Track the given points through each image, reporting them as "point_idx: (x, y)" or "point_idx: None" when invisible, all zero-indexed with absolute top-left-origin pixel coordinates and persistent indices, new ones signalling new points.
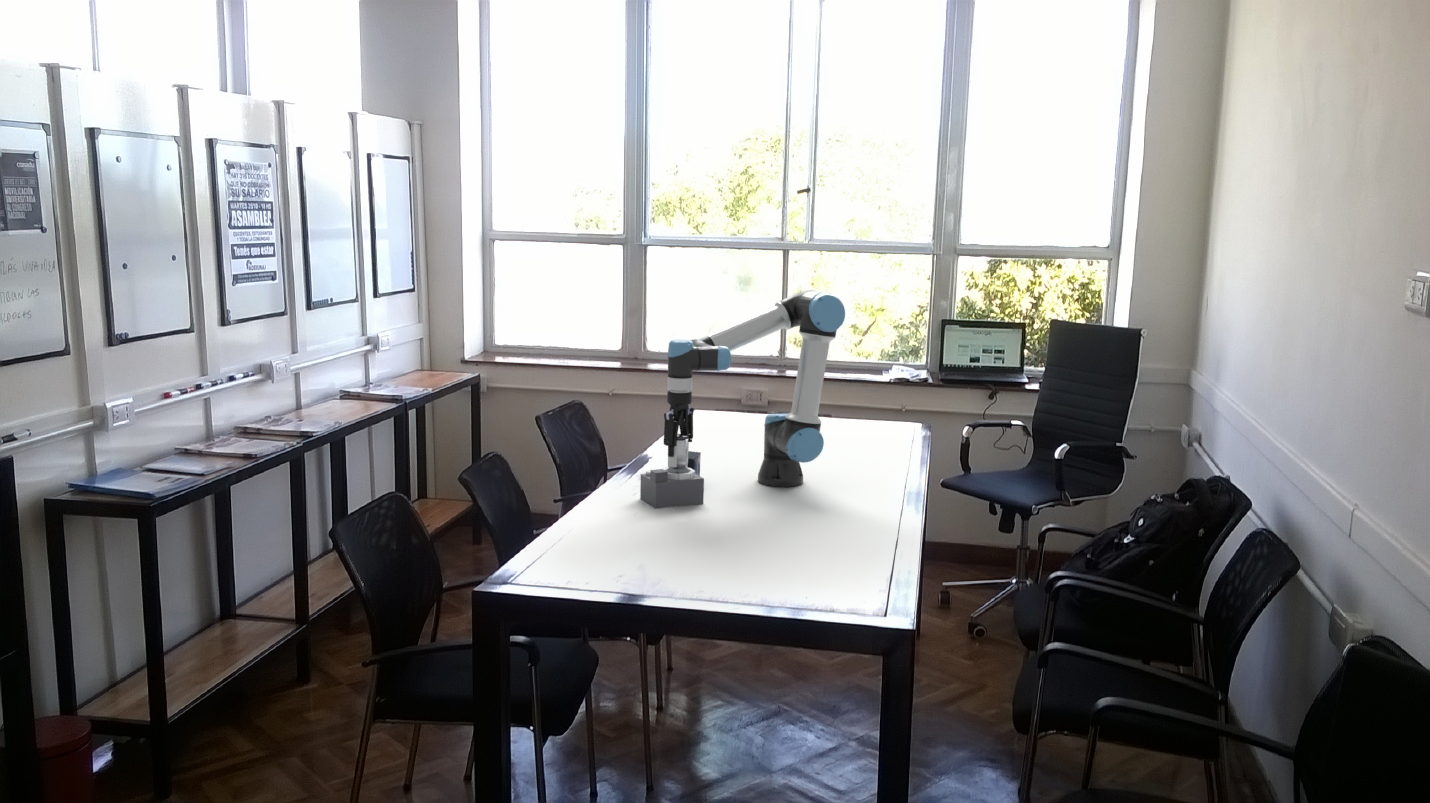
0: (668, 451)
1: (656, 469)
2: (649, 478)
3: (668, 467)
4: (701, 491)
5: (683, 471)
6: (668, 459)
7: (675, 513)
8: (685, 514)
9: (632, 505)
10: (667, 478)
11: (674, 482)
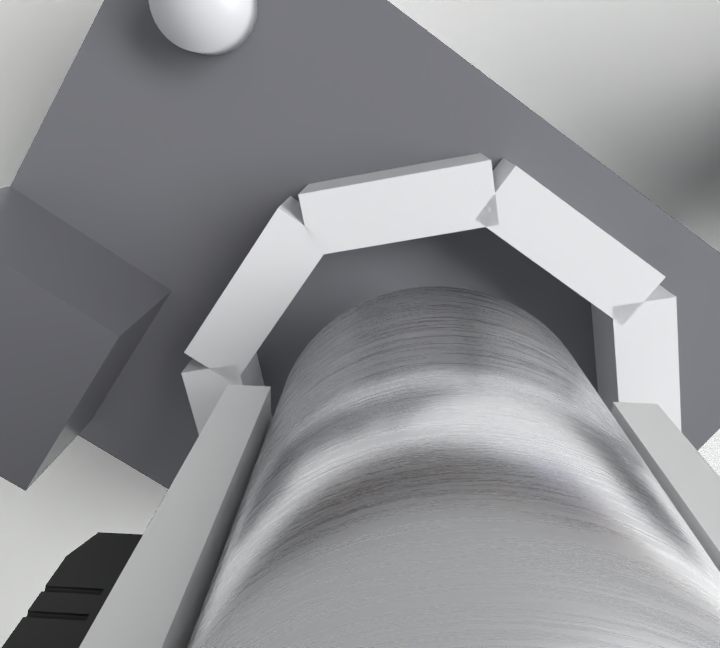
0: (21, 635)
1: (24, 274)
2: (54, 141)
3: (314, 337)
4: None
5: (601, 388)
6: (192, 457)
7: (83, 455)
8: (111, 523)
9: (27, 14)
10: (71, 438)
11: (159, 472)
